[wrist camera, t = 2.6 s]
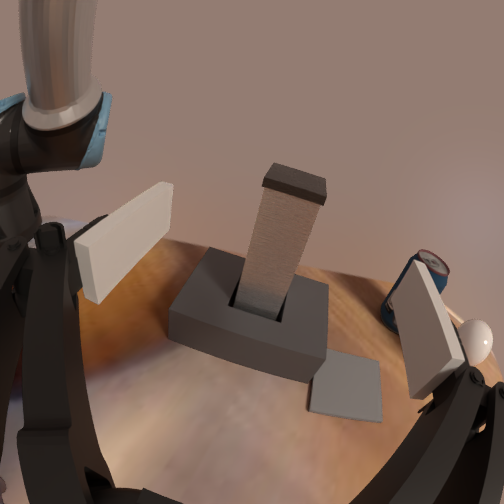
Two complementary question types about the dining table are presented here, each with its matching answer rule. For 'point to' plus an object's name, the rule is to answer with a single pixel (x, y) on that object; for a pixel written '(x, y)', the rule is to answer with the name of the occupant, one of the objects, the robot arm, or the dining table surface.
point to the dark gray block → (251, 321)
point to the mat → (347, 388)
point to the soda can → (432, 262)
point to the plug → (278, 238)
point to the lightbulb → (476, 340)
